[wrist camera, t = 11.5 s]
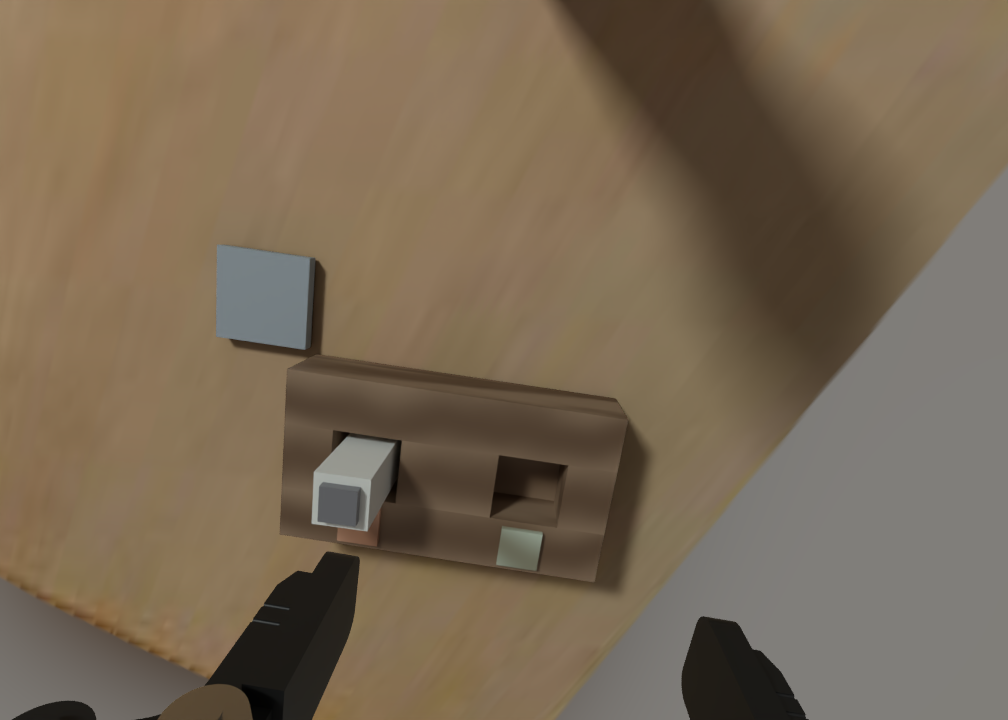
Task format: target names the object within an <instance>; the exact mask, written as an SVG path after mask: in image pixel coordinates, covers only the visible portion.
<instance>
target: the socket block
mask: <svg viewBox="0 0 1008 720" xmlns="http://www.w3.org/2000/svg"><path fill="white" fill-rule="evenodd" d="M627 424H628V418H627V417H626V415H625V413H624V412H623V410H622V408H621V407H620V405H619V403H618V402H617V400H616V399H615V398H608V397H601V396H594V395H588V394H581V393H574V392H567V391H561V390H554V389H547V388H540V387H534V386H527V385H520V384H514V383H507V382H500V381H493V380H487V379H480V378H473V377H466V376H460V375H453V374H446V373H439V372H433V371H426V370H419V369H413V368H406V367H399V366H392V365H386V364H379V363H372V362H365V361H359V360H352V359H345V358H338V357H332V356H325V355H318V354H316V355H314V356H312V357H310V358H308V359H306V360H304V361H302V362H300V363H298V364H296V365H294V366H292V367H290V368H288V369H287V382H286V404H285V427H284V449H283V472H282V494H281V516H280V535H287V536H294V537H300V538H307V539H313V540H320V541H326V542H333V543H339V544H346V545H353V546H359V547H366V548H372V549H379V550H385V551H392V552H399V553H405V554H412V555H418V556H425V557H431V558H438V559H444V560H451V561H458V562H464V563H471V564H477V565H484V566H490V567H497V568H503V569H510V570H517V571H523V572H530V573H536V574H543V575H549V576H556V577H563V578H569V579H576V580H582V581H589V582H595V577H596V572H597V568H598V563H599V558H600V553H601V549H602V544H603V539H604V534H605V529H606V525H607V520H608V515H609V510H610V506H611V501H612V496H613V491H614V486H615V482H616V477H617V472H618V467H619V463H620V458H621V453H622V448H623V443H624V439H625V434H626V429H627ZM350 433H355V434H362V435H369V436H375V437H382V438H389V439H395V440H402V445H401V455H400V465H399V474H398V478H397V479H396V481H395V483H394V485H393V487H392V488H391V490H390V492H389V494H388V496H387V497H386V499H385V501H384V503H383V504H382V506H381V508H380V510H379V512H378V513H377V515H376V517H375V519H374V521H373V522H372V524H371V526H370V528H369V530H368V531H361V530H353V529H346V528H339V527H332V526H325V525H317V524H312V502H313V480H314V471H315V470H316V469H317V468H318V467H319V466H320V465H321V464H322V463H323V462H324V461H325V460H326V458H327V457H328V456H329V455H330V454H331V453H332V452H333V451H334V450H335V449H336V448H337V447H338V446H339V445H340V444H341V443H342V442H343V440H344V439H345V438H346V437H347V436H348V435H349V434H350Z"/></svg>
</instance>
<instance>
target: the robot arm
mask: <svg viewBox="0 0 1008 720" xmlns="http://www.w3.org/2000/svg"><path fill="white" fill-rule="evenodd" d="M359 564H360V560H359V557H358V556H352V555H346V554H340V553H334V552H326V553H325V554H324V556H323V557H322V559H321V560H320V562H319V563H318V565H317V566H316V568H315V570H314V571H313V573H308V572H302V571H296V572H295V573H294V574H292V575H291V576H289V577H288V578H286V579H285V580H284V581H282V582H281V583H279V584H278V585H277V586H276V587H275V589H274V590H273V592H272V593H271V594H270V596H269V597H268V599H267V600H266V601H265V603H264V606H263V607H261V608H260V610H259V611H258V613H257V614H256V615H255V617H254V618H253V621H252V622H250V624H249V625H248V626H247V628H246V629H245V631H244V632H243V633H242V635H241V636H240V638H239V639H238V640H237V642H236V643H235V645H234V646H233V647H232V649H231V650H230V652H229V653H228V654H227V656H226V657H225V659H224V660H223V661H222V663H221V664H220V666H219V667H218V668H217V670H216V671H215V672H214V674H213V675H212V677H211V678H210V679H209V681H208V682H207V683H206V685H205V686H203V687H199V688H197V689H194V690H192V691H190V692H188V693H186V694H184V695H182V696H181V697H179V698H178V699H176V700H175V701H174V702H173V703H171V704H170V705H169V706H168V707H167V708H166V709H165V710H164V711H163V712H162V714H160V715H157V716H153V717H149V718H143V719H137V720H312V718H313V716H314V713H315V711H316V709H317V707H318V704H319V702H320V700H321V698H322V695H323V693H324V691H325V689H326V686H327V684H328V682H329V680H330V678H331V675H332V673H333V671H334V669H335V666H336V664H337V662H338V660H339V657H340V655H341V653H342V651H343V648H344V646H345V644H346V642H347V639H348V636H349V633H350V630H351V627H352V623H353V618H354V613H355V604H356V594H357V584H358V574H359ZM682 694H683V699H684V702H685V705H686V708H687V711H688V714H689V717H690V720H808V719H806V717H805V713H804V711H803V709H802V707H801V706H800V704H799V702H798V700H796V699H794V694H793V692H792V690H791V688H790V687H789V685H788V683H787V682H786V680H785V678H784V677H783V675H782V673H781V672H780V671H779V669H778V668H776V666H775V665H773V663H772V662H771V661H770V660H769V659H768V658H767V657H766V656H765V655H764V654H763V653H762V652H761V651H758V650H753V649H752V648H751V646H750V644H749V642H748V641H747V639H746V637H745V635H744V633H743V631H742V629H741V628H740V626H739V625H738V624H737V623H736V622H733V621H727V620H721V619H715V618H710V617H704V616H703V617H700V618H699V620H698V622H697V624H696V628H695V631H694V634H693V637H692V640H691V644H690V647H689V650H688V653H687V657H686V660H685V663H684V666H683V671H682ZM12 720H96V716H95V713H94V711H93V710H92V708H90V707H89V706H88V705H86V704H84V703H82V702H76V701H59V702H54V703H49V704H45V705H42V706H39V707H36V708H34V709H32V710H29V711H27V712H25V713H23V714H21V715H19V716H17V717H16V718H14V719H12Z"/></svg>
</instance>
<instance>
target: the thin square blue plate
mask: <svg viewBox="0 0 1008 720" xmlns="http://www.w3.org/2000/svg"><path fill="white" fill-rule="evenodd" d="M314 276H315V258H312V257H305V256H298V255H291V254H284V253H278V252H271V251H264V250H257V249H250V248H243V247H237V246H230V245H217V309H216V337H223V338H229V339H236V340H243V341H250V342H256V343H263V344H270V345H277V346H283V347H290V348H297V349H304V350H306V349H308V348H310V347H311V331H312V313H313V295H314Z"/></svg>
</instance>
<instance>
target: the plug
mask: <svg viewBox="0 0 1008 720" xmlns="http://www.w3.org/2000/svg"><path fill="white" fill-rule="evenodd" d="M401 445H402V440H395V439H389V438H382V437H375V436H369V435H362V434H355V433H350V434H349V435H348V436H347V437H346V438H345V439H344V440H343V442H342V443H341V444H340V445H339V446H338V447H337V448H336V449H335V450H334V451H333V452H332V453H331V454H330V455H329V456H328V457H327V458H326V460H325V461H324V462H323V463H322V464H321V465H320V466H319V467H318V468H317V469H316V470H315V471H314V480H313V502H312V524H317V525H325V526H332V527H339V528H346V529H353V530H361V531H368V530H369V528H370V526H371V524H372V522H373V521H374V519H375V517H376V515H377V513H378V512H379V510H380V508H381V506H382V504H383V503H384V501H385V499H386V497H387V496H388V494H389V492H390V490H391V488H392V487H393V485H394V483H395V481H396V479H397V478H398V474H399V465H400V455H401Z"/></svg>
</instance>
